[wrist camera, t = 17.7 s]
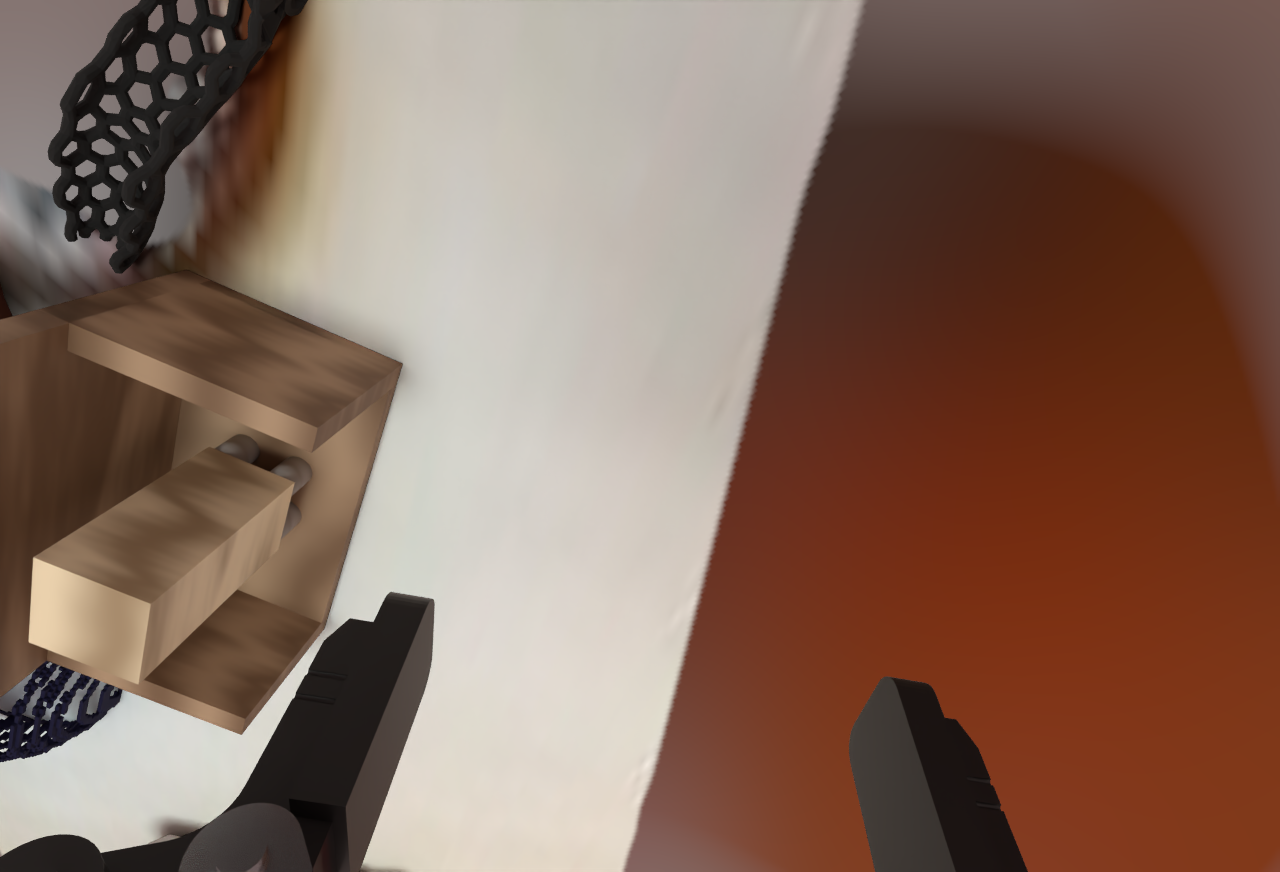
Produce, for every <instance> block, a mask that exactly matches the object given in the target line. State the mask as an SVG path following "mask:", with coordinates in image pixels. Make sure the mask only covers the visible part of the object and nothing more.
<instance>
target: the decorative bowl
mask: <svg viewBox="0 0 1280 872" xmlns="http://www.w3.org/2000/svg"><path fill="white" fill-rule="evenodd" d="M49 662H50V661H46V662H44V663H43V664H42V665H41V666H39V667H38V668H37V669H36V671H35V672H33V673H32V678H31V679H30V680H29V681H28V684H27V685H25V686H24V691H25V692H27V693H26V694H25V695H24V699H23V700H22V699H19V700H17V701H16V704H15V705H14V706H13V707H12V712H10V711H8V712H5V711H2V710H0V713H1V714H3V715H6V716H8V717H7V718H6V719H5V720H3V719H0V733H1V732H2V731H3V730H7V731H8V730H9V729H10V732H6V731H5V732H4V733H3V734H2V735H1V736H0V741H1V740H5V741H6V740H7V739H8V738H9V741H6V742H4V743H1V742H0V750H1V749H4V748H6V749H7V748H8V750H7V751H5V752H4V753H3V752H0V762H4V761H7V760H9V761H10V760H13V759H17V758H20V757H21V758H22V759H25V758H28V757H29V758H30V757H31V756H32V757H34V756H37V755H40V754H43V753H44V752H45V753H47V752H48V751H49V750H50V749H52V748H55V747H58V746H62V745H63V744H64V743H65V742H66V741H68V740H70V739H71V738H72V737H75V736H76V737H77V736H78V735H79V734H80V733H82V732H83V731H86V730H89V729H90V728H91V727H92V726H93V725H94V724H95V723H96V722H98V721H99V720H101V719H102V718H103V717H104V716H105V715H106V714H107V711H108V710H110V709H111V708H112V707H115V706H116V705H117V704H118V703H119V702H120V698H121V693H122V689H120V688H118V692H117V691H114V695H113V696H110V694H111V691H112V690H113V689H114V687H115V686H112V685H110V684H106V685H105V686H104V689H103V690H102V691H101V694H100V699H99V703H98V708H97V711H96V713H93V714H92V715H90V714H89V715H88V714H86V711H87V707H88V702H89V697H90V696H91V695H92V694H93V692H94V691H95V690H96V687H97V686H98V685H99V682H100V681H99V680H97V679H94V682H93V683H92V684H91V686H90V687H89V688H88V689H87V694H86V695H84V697H83V699H82V700H81V701H80V705H79V710H78V715H77V720H75V721H71V722H68V721H66V720H65V721H64V722H63V718H64V717H62V716H60V714H63V715H65V714H66V713H67V710H68V705H69V704H71V702H72V698H73V697H74V696H75V694H76V691H77V690H78V689H79V688H80V689H82V690H83V689H84V688H85V687H86V684H87V683H89V680H90V679H91V677H89V676H86V675H84V674H81V675H80V678H79V679H77V682H76V683H75V684H74V685H73V688H72V689H70V692H68V691H65V692H64V693H63V696H62V697H61V698H60V699H59V701H61V702H63V703H62V704H60V703H58V704H57V705H56V707H55V711H53V712H52V714H51V720H48V721H46V720H44V719H43V720H42V721H41V719H42V716H44V715H45V712H46V707H47V708H49V709H50V708H51V707H52V706H53V703H54V701H55V700H56V699H57V696H58V695H59V694H60V693H61V691H62V690H63V689H64V686H65V683H66V682H68V679H69V678H70V677H71V676H72V673H74V672H75V671H73V670H71V669H68V668H65V667H63V666H60V667H59V670H61V671H62V672H61V673H59V676H58V677H57V678H56V679H55V681H53V680H50V681H49V682H48V685H47V686H46V687H45V688H43V689H42V690H41V696H40V698H39V699H38V700H37V703H36V705H35V706H34V707H33V710H32V715H34V716H35V720H34V719H31V718H29V717H26V716H24V715H22V714H23V713H24V712H25V711H26V705H27V703H29V702H30V698H31V696H32V695H33V694H34V691H36V690H37V689H38V686H39V687H41V688H42V687H43V686H44V685H45V683H46V682H47V681H48V680H49V677H50V676H52V674H53V672H54V671H55V670H56V667H57V666H59V665H57V664H55V663H53V664H52V665H51V666H50V669H49V668H47V667H46V664H48V663H49ZM51 663H52V662H51ZM38 677H39V678H42V679H41V680H40V681H39V684H38V683H36V682H35V680H36V679H37V678H38ZM43 701H44V702H47V706H46V707H44V706H43ZM23 721H25V722H23ZM41 724H42V726H41V727H40V725H41ZM32 725H34V728H33V730H32V731H31V732H30V733H29V734H25V733H24V732H26V731H27V730H28V729H29V728H30V727H31V726H32ZM64 728H66V729H64ZM44 731H47V733H46V734H45V735H43V736H42V737H41V736H40V735H41V734H42V733H43V732H44ZM23 733H24V734H23ZM51 738H52V739H51ZM26 741H27V743H25V742H26ZM23 742H24V743H25V744H24V745H23V746H21V745H22V743H23Z"/></svg>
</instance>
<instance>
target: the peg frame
mask: <svg viewBox="0 0 1280 872" xmlns="http://www.w3.org/2000/svg"><path fill="white" fill-rule="evenodd" d="M401 368H402V363H399V362H397V361H395V360H393V359H390V358H388V357H386V356H383V355H381V354H379V353H376V352H374V351H372V350H370V349H367V348H365V347H363V346H360V345H358V344H356V343H353V342H351V341H349V340H347V339H344V338H342V337H340V336H337V335H335V334H333V333H330V332H328V331H326V330H324V329H321V328H319V327H317V326H314V325H312V324H310V323H307V322H305V321H303V320H301V319H298V318H296V317H294V316H291V315H289V314H287V313H284V312H282V311H280V310H278V309H275V308H273V307H271V306H268V305H266V304H264V303H261V302H259V301H257V300H255V299H252V298H250V297H248V296H245V295H243V294H241V293H238V292H236V291H234V290H232V289H229V288H227V287H225V286H222V285H220V284H218V283H215V282H213V281H211V280H209V279H206V278H204V277H202V276H199V275H197V274H195V273H192V272H190V271H188V270H184V271H180V272H176V273H172V274H169V275H165V276H161V277H158V278H154V279H150V280H146V281H143V282H139V283H135V284H132V285H128V286H124V287H120V288H117V289H113V290H109V291H105V292H102V293H98V294H94V295H91V296H87V297H83V298H79V299H76V300H72V301H68V302H65V303H61V304H57V305H53V306H50V307H46V308H42V309H39V310H35V311H31V312H27V313H24V314H20V315H16V316H13V317H9V318H5V319H1V320H0V697H2V696H3V695H4V694H5V693H7V692H8V691H9V690H10V689H12V688H13V687H14V686H15V685H17V684H18V683H19V682H20V681H22V680H23V679H24V678H25V677H27V676H28V675H29V674H30V673H32V672H33V671H34V670H36V669H37V668H38V667H39V666H41V665H42V664H43V663H44V662H46V661H50V662H52V663H55V664H57V665H60V666H63V667H65V668H68V669H71V670H73V671H76V672H78V673H81V674H84V675H86V676H89V677H91V678H94V679H97V680H99V681H102V682H105V683H107V684H110V685H112V686H115V687H118V688H120V689H123V690H125V691H128V692H131V693H133V694H136V695H139V696H141V697H144V698H146V699H149V700H152V701H154V702H157V703H159V704H162V705H165V706H167V707H170V708H173V709H175V710H178V711H180V712H183V713H186V714H188V715H191V716H193V717H196V718H199V719H201V720H204V721H207V722H209V723H212V724H214V725H217V726H220V727H222V728H225V729H227V730H230V731H233V732H235V733H238V734H241V735H242V734H243V732H244V731H245V730H246V728H247V727H248V726H249V725H250V723H251V722H252V721H253V719H254V718H255V717H256V716H257V714H258V713H259V712H260V710H261V709H262V708H263V707H264V705H265V704H266V703H267V701H268V700H269V699H270V698H271V696H272V695H273V694H274V693H275V691H276V690H277V689H278V687H279V686H280V685H281V684H282V682H283V681H284V680H285V678H286V677H287V676H288V675H289V673H290V672H291V671H292V669H293V668H294V667H295V666H296V664H297V663H298V662H299V660H300V659H301V658H302V657H303V655H304V654H305V653H306V652H307V650H308V649H309V648H310V646H311V645H312V644H313V643H314V641H315V640H316V639H317V637H318V636H319V635H320V634H321V632H322V631H323V630H324V628H325V625H326V621H327V618H328V614H329V611H330V608H331V604H332V601H333V598H334V594H335V591H336V587H337V584H338V581H339V577H340V574H341V570H342V567H343V564H344V560H345V557H346V554H347V550H348V547H349V543H350V540H351V537H352V533H353V530H354V527H355V523H356V520H357V516H358V513H359V510H360V506H361V503H362V499H363V496H364V493H365V489H366V486H367V483H368V479H369V476H370V472H371V469H372V466H373V462H374V459H375V456H376V452H377V449H378V445H379V442H380V439H381V435H382V432H383V428H384V425H385V422H386V418H387V415H388V412H389V408H390V405H391V401H392V398H393V395H394V391H395V388H396V385H397V381H398V378H399V374H400V371H401ZM208 447H211V448H214V449H216V450H219V451H221V452H223V453H226V454H228V455H231V456H233V457H235V458H238V459H240V460H242V461H245V462H247V463H250V464H252V465H254V466H257V467H259V468H262V469H264V470H266V471H269V472H271V473H274V474H276V475H278V476H281V477H283V478H285V479H288V480H290V481H293V482H295V484H294V488H293V492H292V496H291V500H290V504H289V508H288V512H287V516H286V520H285V524H284V528H283V532H282V536H281V540H280V545H279V549H278V550H277V551H276V552H275V553H274V554H273V555H272V556H271V557H270V558H269V559H268V560H267V561H266V562H265V563H264V564H263V565H262V566H261V567H260V568H259V569H258V570H257V571H256V572H255V573H253V574H252V575H251V576H250V577H249V578H248V579H247V580H246V581H245V582H244V583H243V584H242V585H241V586H240V587H239V588H238V589H237V590H236V591H235V592H234V593H233V594H232V595H231V596H230V597H229V598H228V599H227V600H226V601H224V602H223V603H222V604H221V605H220V606H219V607H218V608H217V609H216V610H215V611H214V612H213V613H212V614H211V615H210V616H209V617H208V618H207V619H206V620H205V621H204V622H203V623H202V624H201V625H200V626H199V627H198V628H197V629H195V630H194V631H193V632H192V633H191V634H190V635H189V636H188V637H187V638H186V639H185V640H184V641H183V642H182V643H181V644H180V645H179V646H178V647H177V648H176V649H175V650H174V651H173V652H172V653H171V654H170V655H169V656H168V657H166V658H165V659H164V660H163V661H162V662H161V663H160V664H159V665H158V666H157V667H156V668H155V669H154V670H153V671H152V672H151V673H150V674H149V675H148V676H147V677H146V678H145V679H144V680H143V681H142V682H141V683H140V684H139V685H138V684H135V683H133V682H130V681H128V680H125V679H122V678H120V677H117V676H115V675H112V674H109V673H107V672H104V671H102V670H99V669H97V668H94V667H91V666H89V665H86V664H84V663H81V662H78V661H76V660H73V659H71V658H68V657H65V656H63V655H60V654H58V653H55V652H53V651H50V650H47V649H45V648H42V647H40V646H37V645H34V644H32V643H29V625H30V607H31V589H32V571H33V557H35V556H36V555H38V554H39V553H41V552H43V551H44V550H46V549H47V548H49V547H51V546H52V545H54V544H55V543H57V542H58V541H60V540H62V539H63V538H65V537H66V536H68V535H70V534H71V533H73V532H74V531H76V530H78V529H79V528H81V527H82V526H84V525H85V524H87V523H89V522H90V521H92V520H93V519H95V518H97V517H98V516H100V515H101V514H103V513H104V512H106V511H108V510H109V509H111V508H112V507H114V506H116V505H117V504H119V503H120V502H122V501H124V500H125V499H127V498H128V497H130V496H131V495H133V494H135V493H136V492H138V491H139V490H141V489H143V488H144V487H146V486H147V485H149V484H151V483H152V482H154V481H155V480H157V479H158V478H160V477H162V476H163V475H165V474H166V473H168V472H170V471H171V470H173V469H174V468H176V467H177V466H179V465H181V464H182V463H184V462H185V461H187V460H189V459H190V458H192V457H193V456H195V455H197V454H198V453H200V452H201V451H203V450H204V449H206V448H208Z"/></svg>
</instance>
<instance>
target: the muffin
mask: <svg viewBox="0 0 1280 872" xmlns="http://www.w3.org/2000/svg"><path fill="white" fill-rule="evenodd" d="M9 317H13V316H12V314H11V312H10V309H9V307H8V305H7V303H6V300H5V298H4V295H3V291H2V287H1V284H0V320H1V319H5V318H9Z"/></svg>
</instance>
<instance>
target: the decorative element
mask: <svg viewBox="0 0 1280 872" xmlns="http://www.w3.org/2000/svg"><path fill="white" fill-rule="evenodd" d="M177 1H178V0H141V1H140V2H139V4H138V5H137V6H135V7H134V8H132V9H131V10H129V11H127V12H126V13H124V14H123V15H122V16H121V18H120V19H119V20H118V22H117V23H116V24H115V25H114V27H113V28H112V29H111V30H110V32H109V33H108V35H107V38H106V41H105V44H104V46H103V48H102V49H101V50H100V52H99V53H98V54H97V55H96V57H95V58H94V59H93V60H92V62H91V63H89V64H88V65H87V66H86V67H84V68H83V69H81V70H80V71H79V72H78V73H76V75H75V77H74V78H73V80H72V82H71V84H70V85H69V87H68V89H67V91H66V92H65V94H64V96H63V98H62V99H61V102H60V107H61V110H62V113H63V117H62V122H61V127H60V131H59V132H58V133H57V134H56V136H55V137H54V139H53V140H52V141H51V143H50V145H49V149H48V157H49V160H50V161H51V162H52V163H53V164H54V165H55V166H58V167H61V176H60V177H59V179H58V180H57V181H56V182H55V184H54V186H53V192H52V194H53V198H54V203H55V204H56V205H57V206H58V207H59V208H61V209H63V210H65V211H66V215H67V221H66V225H65V233H64V235H65V237H66V239H67V240H68V242H75V241H76V240H78V238H77V230H78V232H79V236H80V237H82V238H89V237H90V236H91V233H92V232H93V231H94V230H95V229H98V230H99V232H100V239H102V240H103V241H110V240H111V238H112V237H113V236H115V235H116V236H117V240H118V242H117V244H116V248H117V249H118V251H116V252H115V253H113V255H112V256H111V258H110V260H109V264H110V265H111V267H112V269H113V270H114V271H115V273H120V274H122V273H123V272H124V271H125V270H126V269H127V268H129V267H130V266H131V265H132V264H133V263H134V262H135V260H136V259H137V258H138V257H139V256H140V254H141V252H142V251H143V249H144V247H145V246H146V244H147V242H148V240H149V238H150V236H151V234H152V232H153V230H154V228H155V223H156V219H157V216H158V214H159V211H160V209H161V206H162V204H163V201H164V194H165V174H166V172H167V170H168V169H169V167H170V165H171V164H172V162H173V161H174V160H175V159H176V158H177V156H178V155H179V154H180V153H181V152H182V150H183V149H184V148H185V147H187V146H188V145H189V144H190V143H191V142H192V141H193V140H194V139H195V138H196V137H197V135H198V134H199V133H200V132H201V131H202V129H203V128H204V127H205V126H206V124H207V123H208V122H209V120H210V119H211V118H212V117H213V116H214V114H215V113H216V112H217V111H218V110H219V109H220V108H221V107H222V106H223V105H224V104H225V103H226V102H227V101H228V99H229V98H230V97H231V96H232V95H233V94H234V92H235V91H236V90H237V89H238V88H239V87H240V85H241V84H242V83H243V81H244V79H245V78H246V76H247V75H248V73H249V72H250V71H251V70H252V68H253V67H254V66H255V65H256V64H257V62H258V61H259V60H260V59H261V57H262V56H263V55H264V54H265V52H266V51H267V50H268V48H269V47H270V46H271V45H272V39H273V37H274V35H275V33H276V31H277V29H278V26H279V24H280V22H281V20H282V19H283V18H284V17H285V15H286V14H287V15H289V16H294V15H298V14H299V13H300V12H301V11H302V9H303V7H304V6H305V4H306V2H307V1H308V0H247V1H248V4H249V6H250V8H251V11H252V12H251V14H250V17H249V20H248V38H247V39H246V40H237V37H236V33H235V30H234V27H235V26H236V24H237V23H238V20H239V14H240V8H241V2H242V0H229V3H228V10H227V15H226V16H225V17H224V18H221V17H219V16H216V15H213V14H210V10H209V4H208V0H195V4H196V9H197V16H196V18H195V19H194V21H193V22H192V23H191V24H190V25H188V24H185V23H182V22H179V21H178V14H177V6H176V3H177ZM157 5H162V9H163V17H164V24H163V25H162V26H161V27H160V28H159V30H158V31H157V32H156V33H155V32H152V31H149V30H148V17H149V16H150V14H151V13H152V12H153V11H154V9H155V8H156V7H157ZM208 26H211V27H214V28H217V29H220V30H222V33H223V36H224V39H225V42H226V45H225V47H224V48H223V49H222V50H221V52H220V53H219V54H212V53H206V52H205V49H204V45H203V41H202V38H201V35H202V34H203V32H204V31H205V30H206V29H207V28H208ZM132 28H133V31H132V33H131V34H130V35H129V36H128V37H127V39H126V40H125V41H124V42H123V43H122V41H123V39H124V38H125V37H126V35H127V34H128V33H129V32H130V30H131V29H132ZM175 33H177V34H180V35H183V36H187V37H188V38H189V41H190V45H191V49H192V54H193V56H192V57H191V58H190V59H189V60H188V62H187V63H186V64H182V63H178V62H174V61H172V59H171V55H170V50H169V41H170V40H171V38H172V37H173V36H174V34H175ZM144 43H150V44H154V45H155V47H156V51H157V55H158V60H159V63H158V65H157V66H156V67H155V68H154V69H153V70H152V72H151V73H149V72H144V71H139V70H137V64H136V63H137V62H136V53H137V52H138V50H139V49H140V47H141V45H142V44H144ZM118 57H122V63H123V71H124V72H123V73H122V74H121V75H120V77H119V78H118V79H117V80H116V81H115V82H114V83H113V82H106V79H105V71H106V70H107V69H108V67H109V66H110V65H111V64H112V62H113V61H114V60H115V58H118ZM203 65H209V67H208V68H207V71H206V75H205V86H199V82H198V79H197V75H196V74H197V72H198V71H199V70H200V69H201V68H202V67H203ZM229 66H233V67H232V68H231V69H230V68H229ZM170 73H174V74H178V75H181V76H184V78H185V81H186V85H187V89H188V90H187V91H186V92H185V93H184V95H183V96H182V97H181V98H180V99H179V100H176V99H167V98H166V96H165V93H164V90H163V86H162V82H163V81H164V80H165V79H166V78H167V77H168V75H169V74H170ZM135 82H139V83H143V84H148V85H150V89H151V94H152V98H153V102H152V103H151V104H150V105H149V106H148V108H147V109H146V110H145V109H143V108H140V107H137V106H134V104H133V102H132V100H131V98H130V96H129V94H128V91H129V90H130V88H131V87H132V86H133V84H134V83H135ZM89 83H91V85H90V87H89V89H88V91H87V93H86V95H85V97H84V99H83V100H82V101H80V102H78V101H79V99H80V97H81V96H82V94H83V92H84V90H85V88H86V87H87V85H88V84H89ZM104 95H116V98H117V100H118V102H119V104H120V107H121V110H120V112H119V114H113V113H106V112H105V111H104V110H103V109H102V108H101V107H100V106H99V103H100V102H101V100H102V98H103V96H104ZM199 99H200V100H199ZM198 100H199V101H198ZM197 101H198V102H197ZM196 102H197V103H196ZM195 103H196V105H194V104H195ZM165 110H166V111H171V113H170V114H169V115H168V116H167V118H166V119H165V120H164V121H163V123H162V124H161V126H160V124H159V122H158V120H157V118H158V117H159V116H160V114H161V113H162V112H163V111H165ZM89 113H91V115H92V116H93V117H94V118H95V119H96V126H94V127H92V128H90V129H88V130H85V131H77V130H76V128H77V124H78V121H79V120H80V119H82V118H83V117H84V116H85V115H87V114H89ZM134 117H135V118H137V119H140V120H143V121H145V123H146V126H147V128H148V130H149V132H150V134H149V135H148V134H146V133H143V132H141V131H140V130H139V128H138V127H137V126H136V125H135V124H134V122H133V121H132V119H133V118H134ZM112 125H113V126H122V128H123V129H124V130H125V131H126V132H127V133H128V135H129V136H130V137H131V139H129V140H128V139H125V138H121V137H119V136H118V135H117V134H115V133H114V132H113V131H111V130H110V126H112ZM101 138H103V139H105V140H106V141H108V142H109V143H111V144H112V145H113V146H115V153H114V154H110V155H101V154H99V153H97V152H95V151H93V150H92V142H94V141H96V140H98V139H101ZM71 141H74V142H77V149H76V150H75V151H74V152H72V153H71V154H69V155H68V156H62V152H63V151H64V149H65V148H66V147H67V146H68V144H69V143H70V142H71ZM145 145H146V146H147V147H148V149H149V151H150V153H149V151H148V150H147V148H146V147H145ZM128 151H134V152H135V153H136V154H137V156H138V157H139V158H140V160H141V161H142V163H143V165H142V166H141V167H139V168H138V167H137V166H136V165H135V164H134V163H133V161H132V160H131V159H130V158H129V157H128ZM150 154H151V155H150ZM85 160H89V161H91V162H93V163H95V164H96V171H95V172H94V173H91V174H89V175H87V176H86V177H81V176H78V175H76V174H75V173H76V171H75V167H77V166H78V165H80V164H81V163H83V162H84V161H85ZM116 165H121V166H122V167H123V168H124V169H125V170H126V172H127V173H128V175H127V177H126V179H125V180H124V182H121V181H118V180H116V179H115V178H114V177H113V176H111V175H110V174H109V167H111V166H116ZM142 181H145V184H146V187H147V188H146V189H145V190H143V188H142ZM102 182H103V183H104V184H105V185H107V186H108V187H109V188H111V193H110V197H109V198H107V199H104V200H97V199H96V198H95V197H93V196H92V187H94V186H96V185H98V184H100V183H102ZM71 185H75V186H78V195H77V196H76V197H75V198H74V199H73V200H71V201H68V200H66V194H65V192H66V191H67V190H68V189H69V188H70V186H71ZM123 201H124V202H125V204H126V205H128V206H129V207H132V208H135V209H134V210H129V209H127V207H126V206H125V204H124V202H123ZM85 206H89V207H91V208H92V214H91V218H90V219H88V220H87V221H82V220H81V219H80V215H79V211H80V210H81V209H83V208H84V207H85ZM110 209H115V210H116V211H117V213H118V215H119V218H118V220H117V222H116V224H115V225H112V226H110V225H107V224H106V222H105V221H104V217H105V211H107V210H110ZM133 230H134V232H133ZM132 232H133V233H132Z"/></svg>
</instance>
